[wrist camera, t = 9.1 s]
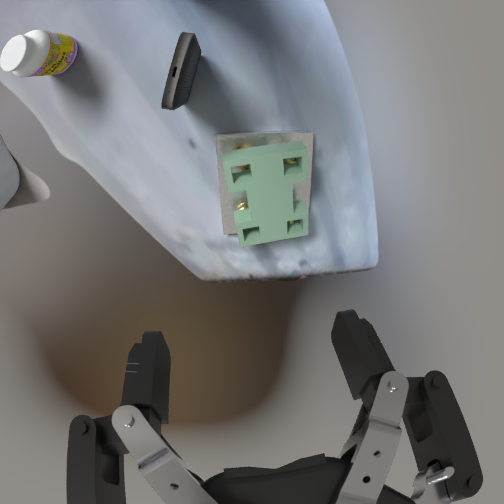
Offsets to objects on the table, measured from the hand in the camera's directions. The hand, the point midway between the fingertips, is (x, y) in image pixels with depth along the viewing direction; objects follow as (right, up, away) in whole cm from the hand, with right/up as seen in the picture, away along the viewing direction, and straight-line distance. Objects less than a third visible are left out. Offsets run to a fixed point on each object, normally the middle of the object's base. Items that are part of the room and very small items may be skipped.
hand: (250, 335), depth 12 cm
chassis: (+2, +15, +30) cm, 33 cm away
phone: (-8, +28, +19) cm, 35 cm away
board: (+2, +12, +26) cm, 29 cm away
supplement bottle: (-28, +33, +12) cm, 45 cm away
